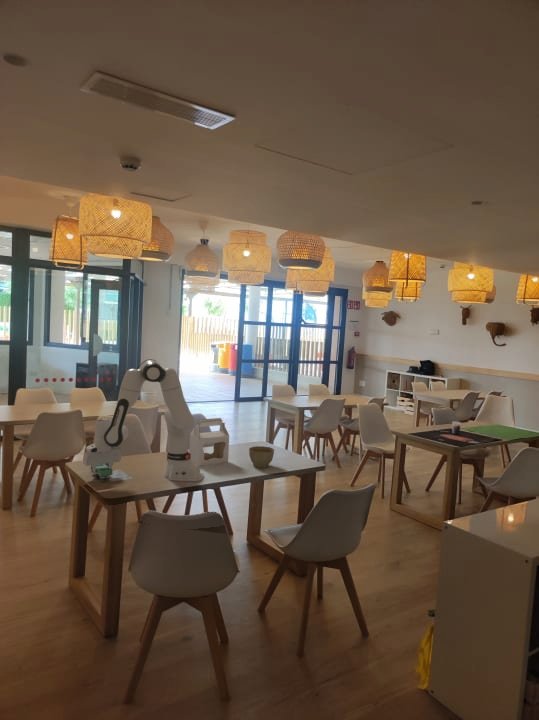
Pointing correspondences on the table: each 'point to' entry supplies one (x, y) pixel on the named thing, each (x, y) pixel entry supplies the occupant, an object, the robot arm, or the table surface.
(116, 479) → the chassis
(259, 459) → the planter bowl
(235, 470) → the table surface
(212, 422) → the gable box
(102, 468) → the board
